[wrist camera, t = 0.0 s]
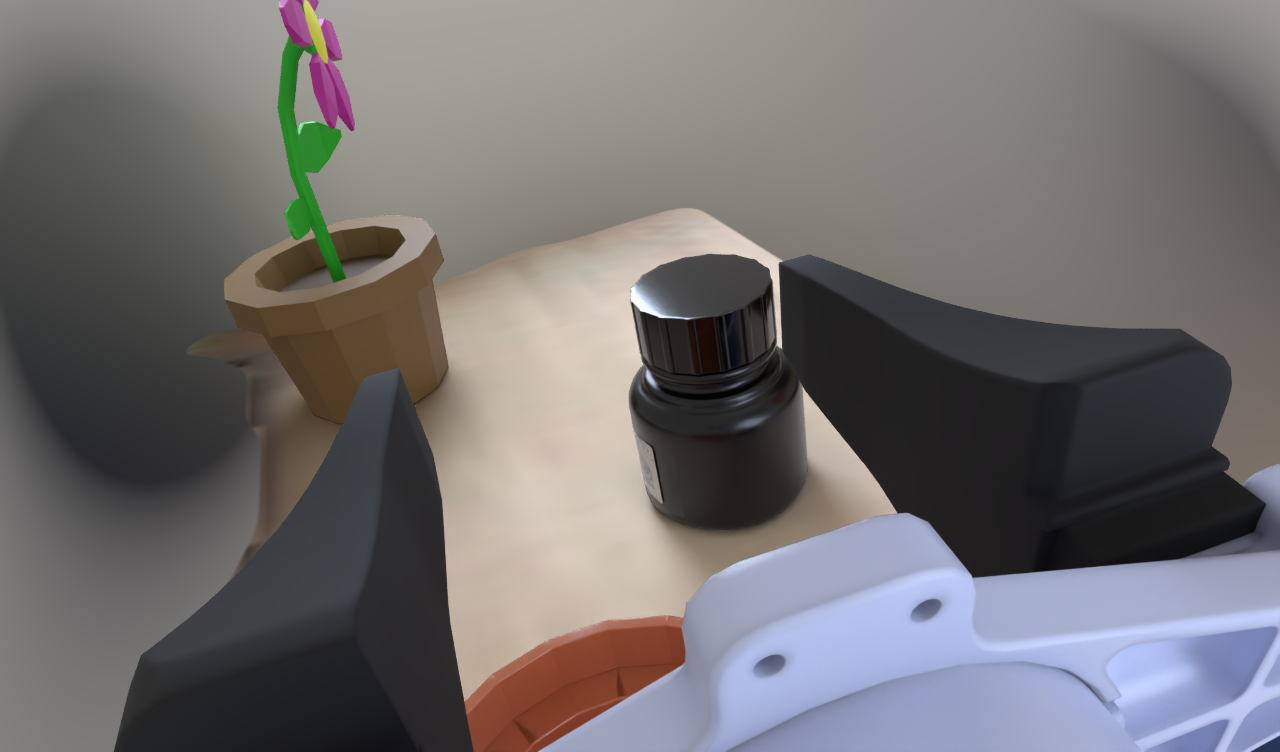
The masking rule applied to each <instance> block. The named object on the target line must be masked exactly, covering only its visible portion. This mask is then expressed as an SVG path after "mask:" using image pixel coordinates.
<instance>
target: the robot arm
mask: <svg viewBox="0 0 1280 752" xmlns="http://www.w3.org/2000/svg"><path fill="white" fill-rule="evenodd" d="M779 279H780V303H781V328H782V351H783V353H784V355H785V357H786V359H787V360H788V362H789V364H790V366H791V367H792V369H793V371H794V373H795V375H796V376H797V378H798V379H799V381H800V383H801V384H802V386H803V388H804V389H805V391H806V392H807V393H808V395H809V396H810V397H811V399H812V400H813V401H814V402H815V404H816V405H817V406H818V407H819V409H820V410H821V411H822V412H823V414H824V415H825V416H826V418H827V419H828V420H829V421H830V422H831V424H832V425H833V426H834V427H835V429H836V430H837V431H838V432H839V434H840V435H841V436H842V437H843V438H844V440H845V441H846V442H847V443H848V445H849V446H850V447H851V448H852V449H853V451H854V452H855V453H856V454H857V456H858V457H859V458H860V459H861V461H862V462H863V463H864V464H865V465H866V467H867V468H868V469H869V471H870V472H871V473H872V475H873V476H874V478H875V479H876V480H877V482H878V483H879V484H880V486H881V488H882V489H883V491H884V492H885V494H886V495H887V497H888V499H889V500H890V502H891V503H892V505H893V507H894V508H895V510H896V511H897V513H898V514H892V515H884V516H876V517H872V518H869V519H866V520H863V521H860V522H857V523H854V524H851V525H848V526H845V527H842V528H839V529H836V530H833V531H830V532H827V533H824V534H821V535H818V536H815V537H812V538H809V539H806V540H803V541H800V542H797V543H794V544H791V545H788V546H785V547H782V548H779V549H776V550H773V551H770V552H767V553H764V554H761V555H758V556H755V557H752V558H749V559H746V560H743V561H740V562H737V563H735V564H733V565H731V566H730V567H728V568H726V569H724V570H722V571H720V572H718V573H716V574H715V575H713V576H711V577H709V578H708V579H707V580H706V582H705V583H704V584H703V585H702V586H701V587H700V588H699V589H698V591H697V592H696V593H695V594H694V595H693V596H692V597H691V599H690V600H689V601H688V603H687V604H686V609H685V614H684V619H683V623H682V633H683V639H684V644H685V650H686V653H685V663H684V664H683V665H682V666H680V667H678V668H677V669H675V670H673V671H672V672H670V673H668V674H667V675H665V676H663V677H662V678H660V679H658V680H657V681H655V682H653V683H652V684H650V685H648V686H647V687H645V688H643V689H642V690H640V691H638V692H637V693H635V694H633V695H631V696H630V697H628V698H626V699H625V700H623V701H621V702H620V703H618V704H616V705H615V706H613V707H611V708H610V709H608V710H606V711H605V712H603V713H601V714H600V715H598V716H596V717H595V718H593V719H591V720H590V721H588V722H586V723H585V724H583V725H581V726H580V727H578V728H576V729H575V730H573V731H571V732H570V733H568V734H566V735H565V736H563V737H561V738H560V739H558V740H556V741H555V742H553V743H551V744H550V745H548V746H546V747H545V748H543V749H541V750H540V751H538V752H1251V751H1252V750H1254V749H1256V748H1258V747H1259V746H1261V745H1263V744H1265V743H1267V742H1269V741H1270V740H1272V739H1274V738H1276V737H1278V736H1280V464H1278V465H1275V466H1272V467H1269V468H1266V469H1264V470H1261V471H1260V472H1257V473H1256V474H1254V475H1252V476H1251V477H1250V478H1249V479H1248V480H1247V481H1245V482H1244V484H1243V485H1240V484H1239V483H1238V482H1237V481H1235V480H1234V479H1233V478H1231V477H1230V476H1229V475H1227V474H1226V473H1225V472H1223V471H1225V470H1228V467H1229V465H1230V462H1229V460H1228V458H1227V457H1226V456H1224V455H1223V454H1221V453H1220V452H1219V451H1217V450H1216V449H1214V448H1213V447H1212V443H1213V440H1214V438H1215V435H1216V432H1217V430H1218V427H1219V424H1220V422H1221V419H1222V416H1223V414H1224V411H1225V408H1226V406H1227V403H1228V399H1229V395H1230V391H1231V386H1232V379H1231V368H1230V366H1229V364H1228V363H1227V361H1226V359H1225V358H1224V356H1222V355H1220V354H1219V353H1217V352H1216V351H1214V350H1212V349H1211V348H1209V347H1208V346H1206V345H1205V344H1203V343H1202V342H1200V341H1198V340H1197V339H1195V338H1194V337H1192V336H1191V335H1189V334H1187V333H1186V332H1184V331H1183V330H1181V329H1117V328H1098V327H1084V326H1071V325H1061V324H1052V323H1044V322H1037V321H1031V320H1024V319H1017V318H1011V317H1005V316H1000V315H995V314H990V313H986V312H982V311H976V310H972V309H968V308H963V307H960V306H956V305H952V304H949V303H945V302H942V301H938V300H935V299H932V298H929V297H926V296H923V295H919V294H916V293H913V292H910V291H907V290H905V289H902V288H899V287H896V286H893V285H890V284H888V283H885V282H882V281H880V280H877V279H874V278H872V277H869V276H867V275H864V274H861V273H859V272H856V271H853V270H851V269H848V268H846V267H843V266H841V265H838V264H835V263H833V262H830V261H827V260H825V259H822V258H819V257H815V256H812V255H805V256H802V257H798V258H795V259H791V260H788V261H784V262H780V263H779ZM114 752H474V749H473V744H472V739H471V734H470V729H469V724H468V719H467V714H466V708H465V703H464V697H463V692H462V687H461V681H460V676H459V671H458V665H457V659H456V653H455V648H454V642H453V636H452V630H451V624H450V615H449V606H448V592H447V575H446V557H445V540H444V524H443V508H442V498H441V493H440V487H439V482H438V477H437V472H436V467H435V462H434V457H433V453H432V451H431V448H430V446H429V443H428V440H427V438H426V435H425V433H424V430H423V428H422V425H421V422H420V420H419V417H418V415H417V412H416V410H415V407H414V404H413V402H412V399H411V397H410V394H409V392H408V389H407V386H406V384H405V381H404V379H403V376H402V374H401V371H400V368H397V369H393V370H389V371H386V372H382V373H379V374H375V375H371V376H368V377H365V378H364V379H363V381H362V383H361V384H360V386H359V389H358V391H357V393H356V396H355V398H354V400H353V403H352V405H351V407H350V409H349V412H348V414H347V416H346V418H345V420H344V422H343V425H342V427H341V429H340V431H339V433H338V435H337V437H336V439H335V440H334V442H333V444H332V446H331V448H330V450H329V452H328V454H327V456H326V458H325V460H324V461H323V463H322V465H321V466H320V468H319V470H318V471H317V473H316V475H315V477H314V478H313V480H312V482H311V483H310V485H309V487H308V488H307V490H306V491H305V493H304V494H303V496H302V497H301V499H300V500H299V502H298V503H297V505H296V506H295V508H294V509H293V510H292V512H291V513H290V514H289V515H288V517H287V518H286V519H285V521H284V522H283V523H282V525H281V526H280V527H279V528H278V530H277V531H276V532H275V533H274V534H273V535H272V537H271V538H270V539H269V540H268V541H267V542H266V543H265V544H264V546H263V547H262V548H261V549H260V550H259V551H258V552H257V553H256V554H255V556H254V557H253V558H252V559H251V560H250V561H249V562H248V563H247V565H246V566H245V567H244V568H243V569H242V570H241V571H240V572H239V573H238V574H237V575H236V576H235V577H234V578H233V579H232V580H231V581H230V582H229V583H228V584H227V585H225V586H224V587H223V588H222V589H221V590H220V591H219V592H218V593H217V594H216V595H215V596H214V597H212V598H211V599H210V600H209V601H208V602H207V603H206V604H205V605H204V606H203V607H201V608H200V609H199V610H198V611H197V612H196V613H194V614H193V615H192V616H191V617H190V618H188V619H187V620H186V621H185V622H183V623H182V624H181V625H180V626H178V627H177V628H176V629H174V630H173V631H172V632H171V633H169V634H168V635H167V636H166V637H164V638H163V639H162V640H161V641H159V642H158V643H157V644H155V645H154V646H153V647H152V648H150V649H149V650H148V651H146V652H145V653H143V654H142V655H141V657H140V660H139V663H138V666H137V669H136V671H135V674H134V677H133V680H132V682H131V686H130V689H129V693H128V696H127V700H126V704H125V708H124V712H123V716H122V720H121V725H120V729H119V733H118V737H117V741H116V745H115V749H114Z"/></svg>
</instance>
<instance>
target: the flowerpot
mask: <svg viewBox="0 0 1280 752" xmlns="http://www.w3.org/2000/svg"><path fill="white" fill-rule="evenodd" d="M317 5H318V0H279V9H280V12H281V16H282V18H283V22H284V25H285V27H286V29H287V32H288V34H289V38H288V40H287V43H286V46H285V48H284V51H283V55H282V65H281V76H280V87H279V98H278V113H279V118H280V123H281V128H282V133H283V138H284V143H285V149H286V154H287V159H288V164H289V169H290V174H291V177H292V179H293V182H294V185H295V187H296V190H297V192H298V195H299V197H300V198H299V199H296V200H293V201H291V203H290V204H289V206H288V208H287V210H286V211H285V217H286V220H287V224H288V227H289V230H290V233H291V235H292V237H290V238H288V239H286V240H284V241H282V242H280V243H278V244H276V245H274V246H272V247H270V248H268V249H266V250H264V251H262V252H259V253H257V254H255V255H253V256H251V257H250V258H249V259H247V260H246V261H245V262H244V263H243V264H242V265H241V266H240V267H239V268H237V269H236V270H235V271H234V272H233V273H232V274H230V275H229V276H228V277H227V278H226V279H225V280H224V291H225V292H224V293H225V301H226V303H227V305H228V307H229V309H230V311H231V313H232V315H233V317H234V320H235V321H236V324H237V326H238V328H241V329H245V330H248V331H252V332H255V333H259V334H262V335H263V336H264V337H265V339H266V340H267V342H268V344H269V345H270V347H271V348H272V350H273V351H274V353H275V354H276V356H277V357H278V359H279V361H280V362H281V364H282V365H283V367H284V368H285V370H286V371H287V373H288V374H289V376H290V377H291V379H292V381H293V382H294V384H295V385H296V387H297V388H298V390H299V391H300V393H301V394H302V396H303V398H304V399H305V401H306V402H307V404H308V405H309V407H310V408H311V410H312V411H313V413H314V415H315V416H318V417H321V418H323V419H326V420H329V421H332V422H334V423H337V424H340V423H343V422H344V420H345V418H346V416H347V414H348V412H349V409H350V407H351V405H352V403H353V400H354V398H355V396H356V393H357V391H358V389H359V386H360V384H361V383H362V381H363V379H364V378H365V377H368V376H371V375H375V374H379V373H382V372H386V371H389V370H393V369H397V368H400V371H401V374H402V376H403V379H404V381H405V384H406V386H407V389H408V392H409V394H410V397H411V399H412V402H413V404H415V403H417V402H418V401H419V400H421V399H422V398H423V397H425V396H426V395H428V394H429V393H430V392H432V391H433V390H434V389H436V388H437V387H438V386H439V384H440V383H441V381H442V379H443V377H444V375H445V373H446V371H447V369H448V361H447V356H446V350H445V345H444V340H443V334H442V329H441V323H440V318H439V312H438V307H437V302H436V296H435V291H434V285H433V280H432V279H433V277H434V275H435V274H436V272H437V271H438V269H439V268H440V266H441V265H442V263H443V262H444V259H443V255H442V252H441V249H440V246H439V243H438V240H437V236H436V234H435V232H434V231H433V230H432V228H431V227H430V226H429V225H428V223H427V222H426V221H425V219H422V218H414V217H405V216H398V215H383V216H376V217H369V218H361V219H353V220H346V221H341V222H338V223H335V224H331V225H328V226H326V225H325V222H324V219H323V217H322V214H321V212H320V209H319V206H318V204H317V201H316V199H315V196H314V194H313V191H312V188H311V186H310V183H309V181H308V178H307V176H306V173H305V172H312V173H318V172H319V171H320V170H321V168H322V167H323V166H324V165H325V163H327V161H328V160H329V158H330V157H331V154H332V153H333V151H334V149H335V148H336V146H337V144H338V142H339V140H340V138H341V131H340V130H338V129H335V126H336V121H337V116H338V115H339V117H340V118H341V119H342V121H343V122H344V123H345V124H346V125H347V127H348V128H349V129H350V130H351V131H353V130H354V126H355V123H354V119H353V113H352V108H351V104H350V98H349V95H348V93H347V90H346V88H345V85H344V82H343V80H342V77H341V75H340V73H339V70H338V69H337V67H336V66H335V65H334V64H333V63H332V61H337V60H342V54H341V49H340V46H339V43H338V39H337V36H336V33H335V31H334V28H333V26H332V23H331V22H329V21H328V20H326V19H320V20H318V19H317V17H316V15H315V10H316V8H317ZM304 50H305V51H306V52H308V53H310V54H311V55H312V59H311V61H310V63H309V66H310V72H311V77H312V83H313V88H314V93H315V96H316V98H317V101H318V103H319V106H320V108H321V110H322V113H323V116H324V118H325V120H326V122H327V124H328V125H329V126H326V125H324V124H321V123H318V122H315V121H314V122H306V123H301V124H300V126H299V128H298V130H297V125H296V120H295V114H294V102H295V92H296V81H297V71H298V61H299V59H300V57H301V55H302V53H303V51H304ZM331 60H332V61H331ZM310 227H312V231H309V230H310Z"/></svg>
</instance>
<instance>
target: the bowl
mask: <svg viewBox="0 0 1280 752" xmlns="http://www.w3.org/2000/svg"><path fill="white" fill-rule="evenodd" d="M683 619H684V618H680V617H674V616H654V617H642V618H630V619H618V620H608V621H603V622H600V623H597V624H594V625H591V626H588V627H585V628H582V629H579V630H576V631H573V632H570V633H567V634H565V635H562V636H559V637H556V638H553V639H550V640H548V641H545V642H544V643H542V644H540V645H539V646H537V647H536V648H534V649H532V650H531V651H529V652H528V653H526V654H524V655H523V656H521V657H520V658H518V659H516V660H515V661H513V662H511V663H510V664H508V665H507V666H505V667H503V668H502V669H500V670H499V671H497V672H495V673H494V674H493V675H492V676H490V677H489V678H488V679H487V680H486V681H485V682H484V683H483V684H482V685H481V686H480V687H479V688H478V689H477V690H476V691H475V692H474V693H473V694H472V695H471V696H470V697H469V698H468V699H467V700H466V701H465V702H464V703H465V708H466V714H467V719H468V724H469V729H470V734H471V739H472V744H473V749H474V752H538V751H540V750H541V749H543V748H545V747H546V746H548V745H550V744H551V743H553V742H555V741H556V740H558V739H560V738H561V737H563V736H565V735H566V734H568V733H570V732H571V731H573V730H575V729H576V728H578V727H580V726H581V725H583V724H585V723H586V722H588V721H590V720H591V719H593V718H595V717H596V716H598V715H600V714H601V713H603V712H605V711H606V710H608V709H610V708H611V707H613V706H615V705H616V704H618V703H620V702H621V701H623V700H625V699H626V698H628V697H630V696H631V695H633V694H635V693H637V692H638V691H640V690H642V689H643V688H645V687H647V686H648V685H650V684H652V683H653V682H655V681H657V680H658V679H660V678H662V677H663V676H665V675H667V674H668V673H670V672H672V671H673V670H675V669H677V668H678V667H680V666H682V665H683V664H684V663H685V653H686V650H685V644H684V639H683V633H682V623H683Z"/></svg>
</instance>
